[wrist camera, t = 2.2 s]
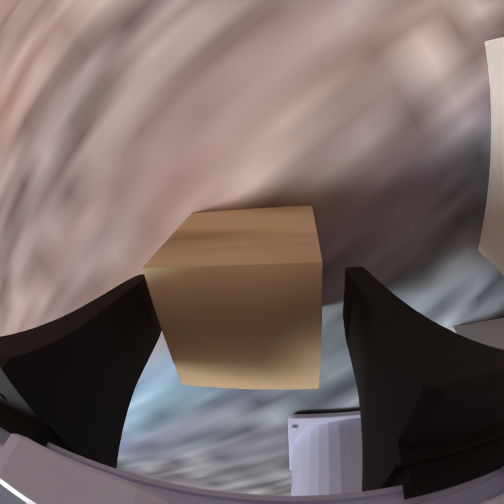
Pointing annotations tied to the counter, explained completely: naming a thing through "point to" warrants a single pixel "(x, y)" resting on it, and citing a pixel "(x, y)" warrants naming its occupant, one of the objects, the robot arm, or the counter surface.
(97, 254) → the counter surface
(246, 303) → the maple cube
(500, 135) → the base block
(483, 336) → the grey cube
